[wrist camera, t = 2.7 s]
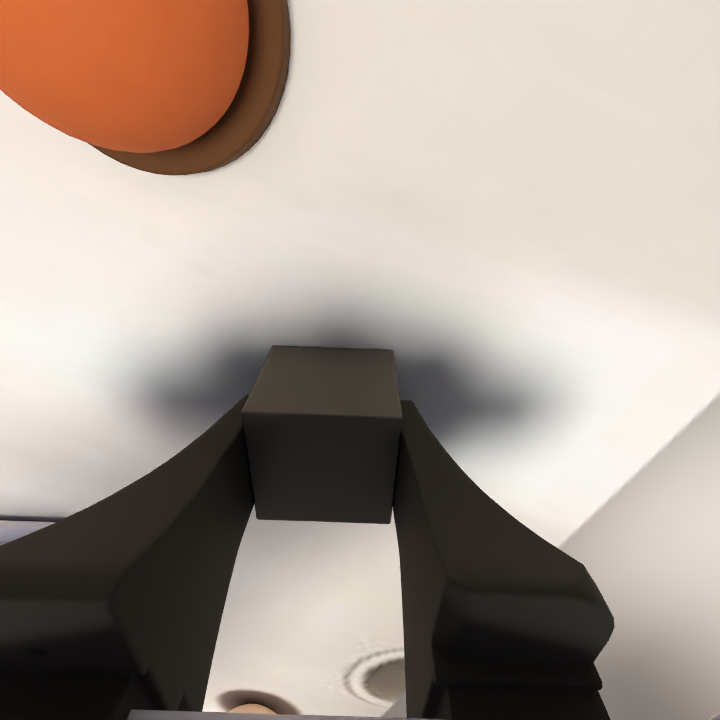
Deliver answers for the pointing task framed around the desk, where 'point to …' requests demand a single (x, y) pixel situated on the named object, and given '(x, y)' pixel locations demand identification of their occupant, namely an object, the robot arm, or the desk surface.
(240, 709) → the egg
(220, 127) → the ball on stand
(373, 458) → the gray block
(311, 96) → the desk surface
